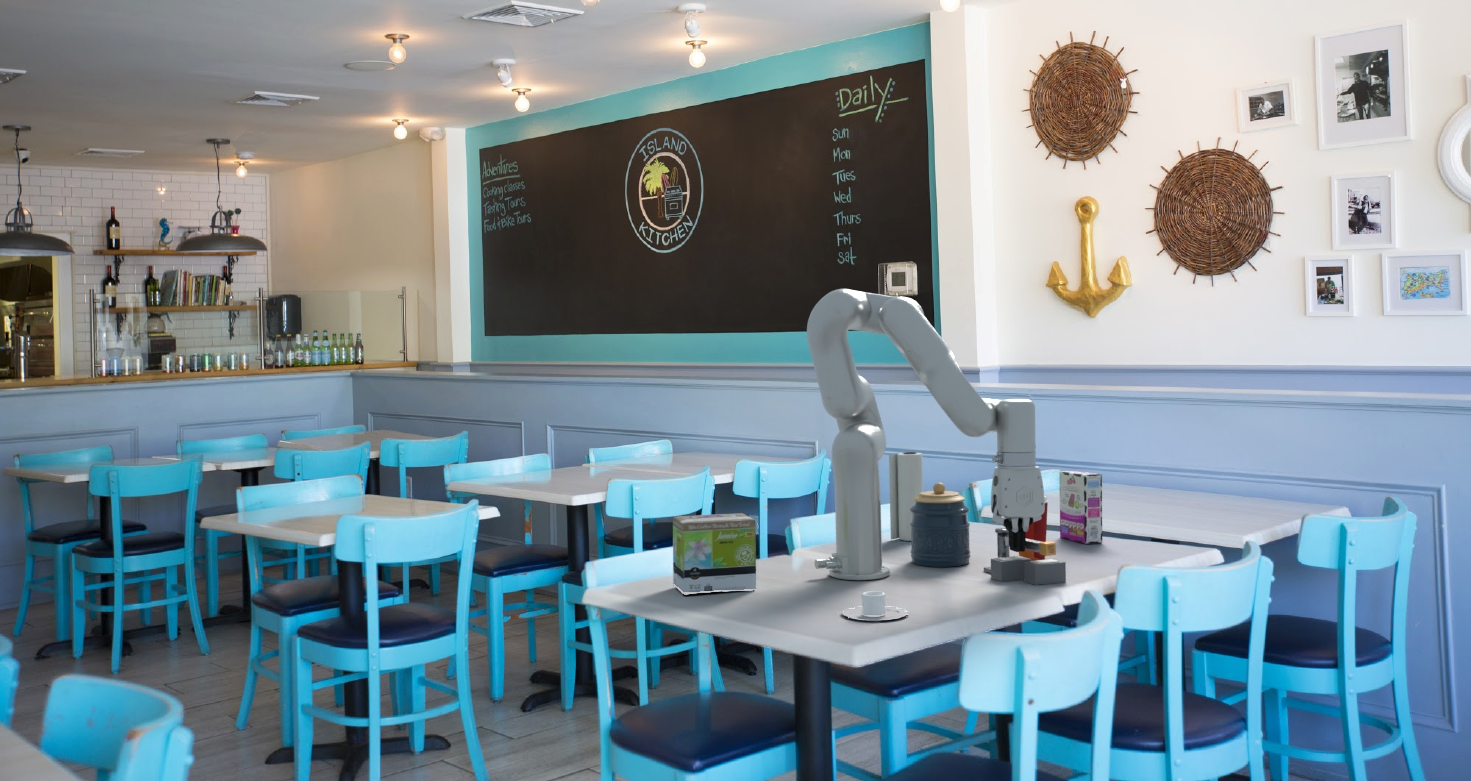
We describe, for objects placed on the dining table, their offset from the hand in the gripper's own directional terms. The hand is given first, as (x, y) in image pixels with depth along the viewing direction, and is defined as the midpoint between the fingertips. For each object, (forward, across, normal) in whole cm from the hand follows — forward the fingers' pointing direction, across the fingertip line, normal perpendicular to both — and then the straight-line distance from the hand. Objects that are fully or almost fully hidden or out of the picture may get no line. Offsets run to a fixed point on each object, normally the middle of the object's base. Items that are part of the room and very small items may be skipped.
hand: (1017, 550), depth 241 cm
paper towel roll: (+6, +3, +54) cm, 55 cm away
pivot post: (+6, +2, +8) cm, 10 cm away
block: (+6, 0, +2) cm, 6 cm away
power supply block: (+6, +4, -4) cm, 8 cm away
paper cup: (+6, +16, +19) cm, 26 cm away
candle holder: (+7, -39, -16) cm, 42 cm away
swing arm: (0, +3, 0) cm, 3 cm away
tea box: (+7, -58, +18) cm, 62 cm away
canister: (+6, -4, +24) cm, 25 cm away
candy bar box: (+6, +38, +34) cm, 52 cm away
